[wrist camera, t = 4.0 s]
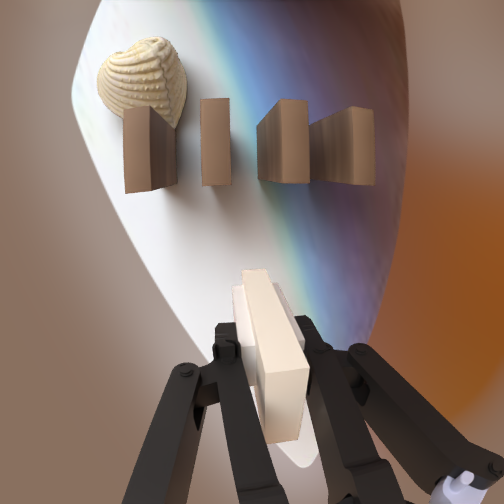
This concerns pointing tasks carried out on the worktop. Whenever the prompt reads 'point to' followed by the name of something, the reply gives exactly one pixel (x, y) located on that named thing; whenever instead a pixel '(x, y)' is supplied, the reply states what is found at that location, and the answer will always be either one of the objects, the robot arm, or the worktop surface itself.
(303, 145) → the domino
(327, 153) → the domino
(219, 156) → the domino
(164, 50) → the seashell
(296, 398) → the domino
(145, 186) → the domino
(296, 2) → the worktop surface
